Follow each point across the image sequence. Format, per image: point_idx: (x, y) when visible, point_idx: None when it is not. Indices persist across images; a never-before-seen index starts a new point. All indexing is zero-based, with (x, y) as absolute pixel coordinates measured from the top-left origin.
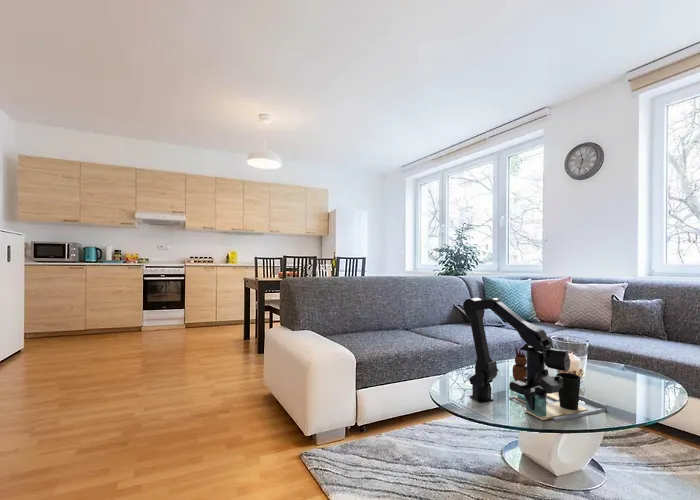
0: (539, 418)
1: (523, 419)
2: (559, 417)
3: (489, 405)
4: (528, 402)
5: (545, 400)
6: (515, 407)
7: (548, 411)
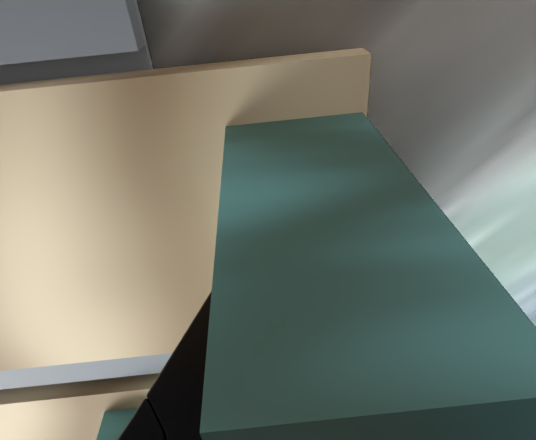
0: (358, 112)
1: (524, 171)
2: (3, 27)
3: None
4: None
5: (249, 343)
6: None
7: (87, 236)
